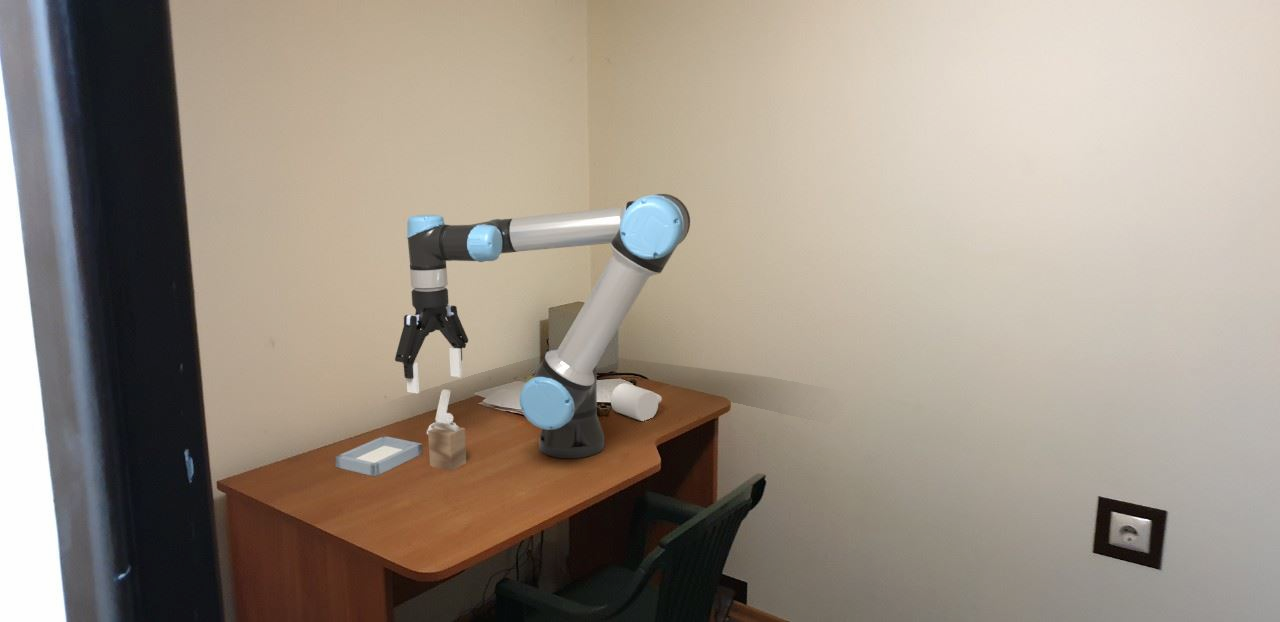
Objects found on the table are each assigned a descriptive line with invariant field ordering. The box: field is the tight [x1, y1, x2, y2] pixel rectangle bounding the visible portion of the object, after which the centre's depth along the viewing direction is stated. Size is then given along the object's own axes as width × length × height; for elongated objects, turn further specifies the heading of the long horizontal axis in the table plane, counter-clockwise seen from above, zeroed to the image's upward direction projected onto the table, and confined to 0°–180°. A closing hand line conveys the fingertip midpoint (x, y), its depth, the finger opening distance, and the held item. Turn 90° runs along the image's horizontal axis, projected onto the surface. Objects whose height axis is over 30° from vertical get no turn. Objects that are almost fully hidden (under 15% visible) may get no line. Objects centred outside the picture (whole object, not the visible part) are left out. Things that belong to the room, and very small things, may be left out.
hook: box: [426, 389, 458, 435], centre depth 191 cm, size 8×12×7 cm
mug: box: [610, 382, 663, 422], centre depth 202 cm, size 12×10×8 cm
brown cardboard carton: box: [427, 421, 467, 471], centre depth 168 cm, size 6×5×9 cm
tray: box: [334, 435, 423, 477], centre depth 171 cm, size 11×14×2 cm
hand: (435, 384), depth 168 cm, fingers open, 13 cm apart
